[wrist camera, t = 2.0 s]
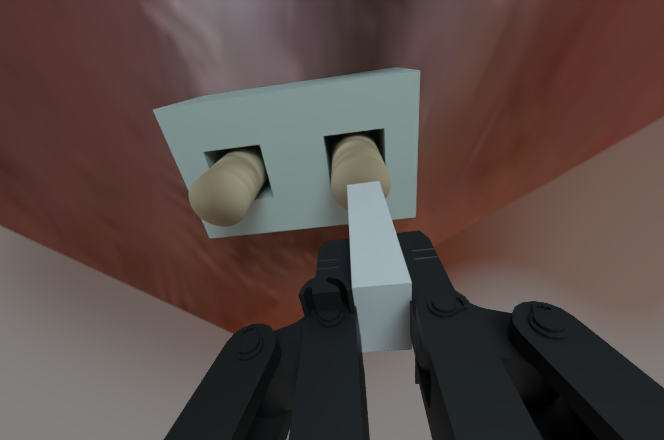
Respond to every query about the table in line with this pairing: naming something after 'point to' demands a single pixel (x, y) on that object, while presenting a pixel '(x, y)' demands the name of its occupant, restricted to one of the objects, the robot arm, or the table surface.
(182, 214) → the table surface
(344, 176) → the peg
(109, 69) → the table surface
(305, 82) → the socket block
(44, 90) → the table surface
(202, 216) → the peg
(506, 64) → the table surface
